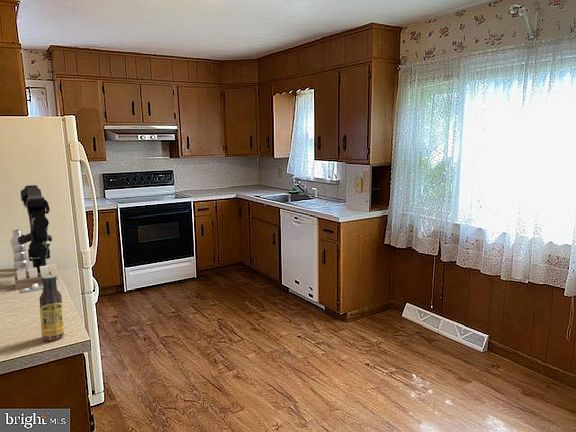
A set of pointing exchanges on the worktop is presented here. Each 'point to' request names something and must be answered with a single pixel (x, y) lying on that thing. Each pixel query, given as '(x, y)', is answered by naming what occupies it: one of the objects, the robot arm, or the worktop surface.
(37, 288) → the card
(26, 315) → the worktop surface
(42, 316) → the sauce bottle
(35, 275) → the button middle
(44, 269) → the button
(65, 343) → the worktop surface
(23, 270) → the button
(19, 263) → the plastic bottle
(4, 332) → the worktop surface
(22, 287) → the board
